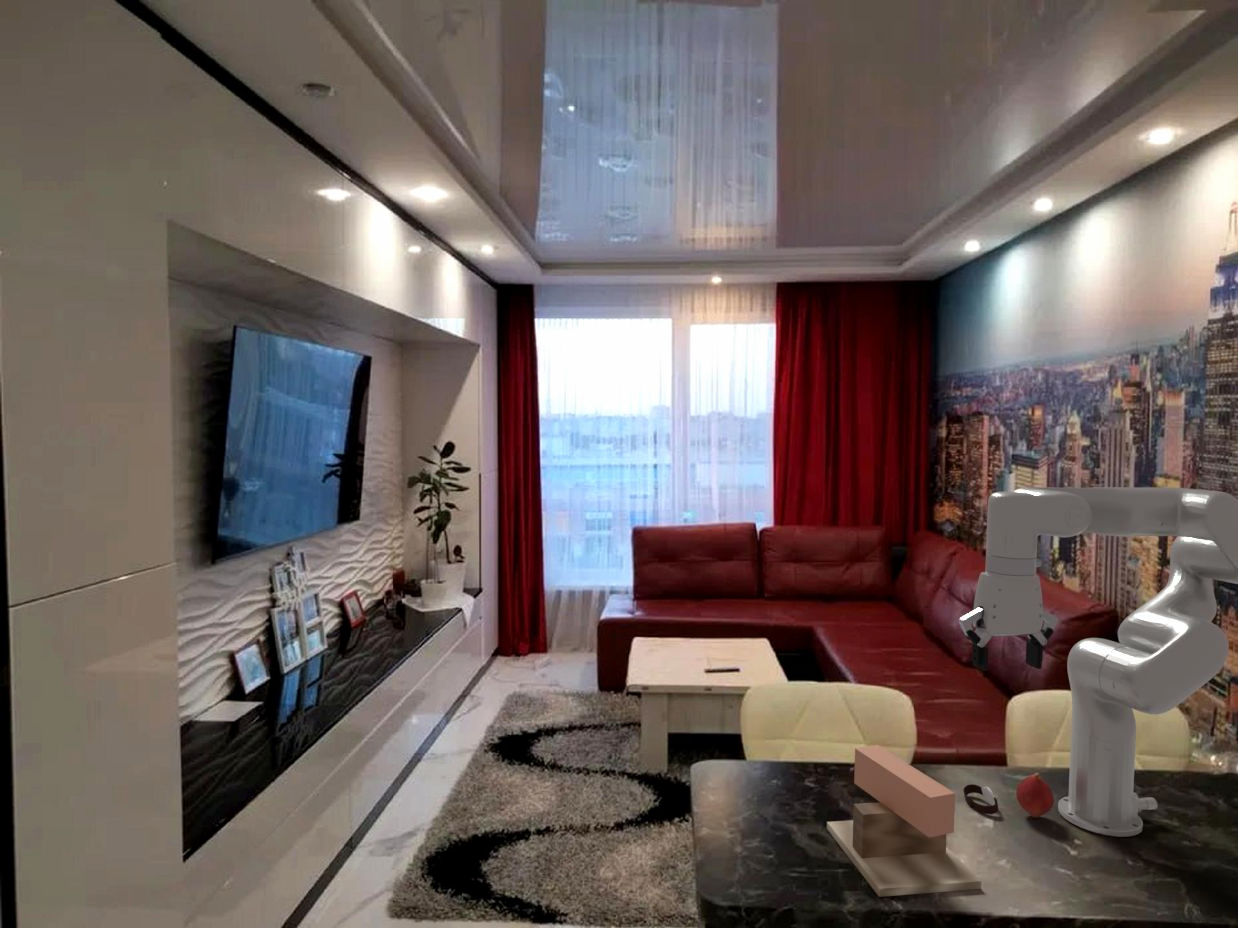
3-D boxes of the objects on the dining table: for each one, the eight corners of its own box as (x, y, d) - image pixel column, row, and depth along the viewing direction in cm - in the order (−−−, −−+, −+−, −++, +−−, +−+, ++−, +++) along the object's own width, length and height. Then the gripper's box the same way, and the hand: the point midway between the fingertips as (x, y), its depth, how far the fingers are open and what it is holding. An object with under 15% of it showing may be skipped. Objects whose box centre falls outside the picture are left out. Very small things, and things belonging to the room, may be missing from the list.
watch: (1005, 816, 136) (1006, 796, 136) (981, 818, 136) (982, 797, 136) (979, 795, 144) (979, 776, 144) (955, 796, 143) (956, 777, 143)
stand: (915, 822, 133) (916, 776, 133) (980, 888, 115) (982, 834, 114) (826, 828, 131) (828, 781, 131) (879, 896, 112) (880, 841, 112)
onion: (1008, 812, 137) (1009, 768, 137) (1030, 806, 140) (1032, 762, 139) (1037, 828, 132) (1039, 782, 132) (1060, 821, 134) (1062, 776, 134)
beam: (876, 779, 132) (877, 744, 131) (953, 832, 115) (955, 793, 114) (854, 782, 130) (855, 748, 130) (929, 837, 113) (930, 797, 113)
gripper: (1043, 561, 133) (1039, 659, 134) (949, 562, 131) (946, 662, 132) (1074, 569, 126) (1070, 672, 127) (975, 571, 123) (972, 676, 124)
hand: (1006, 667), depth 129 cm, fingers open, 9 cm apart
